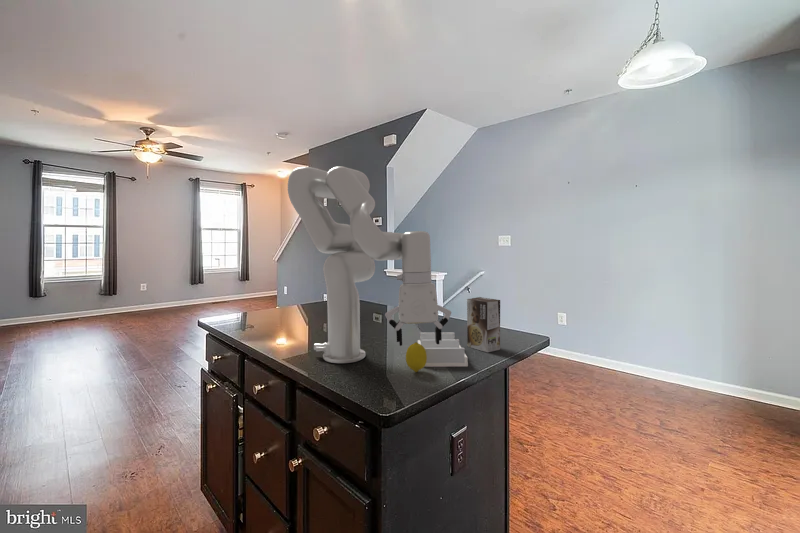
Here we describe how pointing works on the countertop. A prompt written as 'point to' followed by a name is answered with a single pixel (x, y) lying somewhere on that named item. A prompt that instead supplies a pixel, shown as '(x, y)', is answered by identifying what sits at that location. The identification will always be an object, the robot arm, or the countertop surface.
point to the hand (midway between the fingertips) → (419, 343)
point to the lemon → (416, 357)
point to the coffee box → (483, 324)
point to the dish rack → (443, 350)
